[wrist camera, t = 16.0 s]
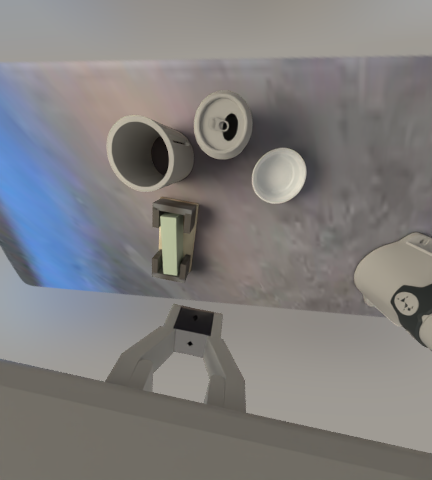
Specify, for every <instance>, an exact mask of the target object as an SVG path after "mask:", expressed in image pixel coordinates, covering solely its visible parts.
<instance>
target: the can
mask: <svg viewBox="0 0 432 480" xmlns="http://www.w3.org/2000/svg"><path fill="white" fill-rule="evenodd" d="M252 125H253V121H252V115H251V111H250V109H249V107H248V105H247V103H246V101H245V100H244V99H243V98H242V97H240V96H239V95H238V94H236V93H234V92H231V91H217V92H215V93H212V94H210V95H209V96H207V97H206V98H205V99H204V100H203V101H202V102H201V104H200V106H199V107H198V109H197V111H196V115H195V119H194V133H195V137H196V140H197V143H198V144H199V146H200V147H201V149H202V150H203V151H204V152H205V153H206V154H207V155H209V156H211V157H213V158H216V159H230V158H234V157H236V156H237V155H239V154H240V153H241V152H242V150H243V149H244V148H245V146H246V145H247V144H248V142H249V139H250V136H251V134H252Z"/></svg>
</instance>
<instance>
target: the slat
mask: <svg viewBox="0 0 432 480" xmlns="http://www.w3.org/2000/svg"><path fill="white" fill-rule="evenodd" d="M160 221H161V239H162V257H163V274H168V275H175V276H177V275H178V273H179V271H180V265H181V262H182V260H183V215H181V214H175V213H170V212H165V213H164V214H163V215H161V216H160Z"/></svg>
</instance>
